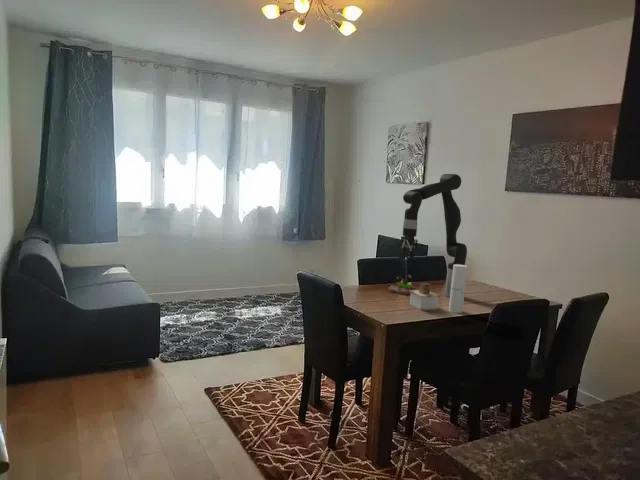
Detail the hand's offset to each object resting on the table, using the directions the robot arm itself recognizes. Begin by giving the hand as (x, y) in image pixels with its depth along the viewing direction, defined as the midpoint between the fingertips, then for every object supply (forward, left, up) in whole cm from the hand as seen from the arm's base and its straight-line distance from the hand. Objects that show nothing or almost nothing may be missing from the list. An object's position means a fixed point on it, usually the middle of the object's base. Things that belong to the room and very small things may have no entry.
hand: (407, 256), depth 259 cm
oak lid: (-6, +11, -19) cm, 23 cm away
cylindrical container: (-20, +21, -27) cm, 39 cm away
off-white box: (-6, +11, -26) cm, 29 cm away
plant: (-15, -23, -27) cm, 39 cm away
